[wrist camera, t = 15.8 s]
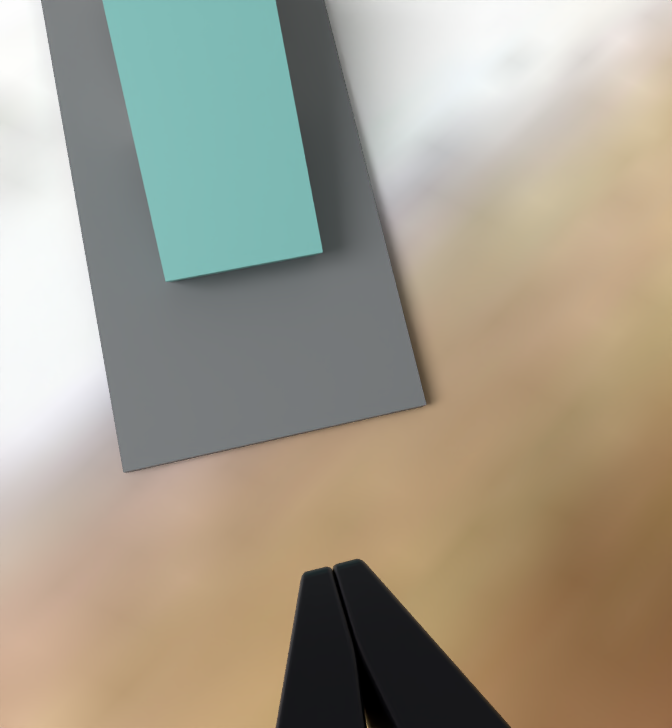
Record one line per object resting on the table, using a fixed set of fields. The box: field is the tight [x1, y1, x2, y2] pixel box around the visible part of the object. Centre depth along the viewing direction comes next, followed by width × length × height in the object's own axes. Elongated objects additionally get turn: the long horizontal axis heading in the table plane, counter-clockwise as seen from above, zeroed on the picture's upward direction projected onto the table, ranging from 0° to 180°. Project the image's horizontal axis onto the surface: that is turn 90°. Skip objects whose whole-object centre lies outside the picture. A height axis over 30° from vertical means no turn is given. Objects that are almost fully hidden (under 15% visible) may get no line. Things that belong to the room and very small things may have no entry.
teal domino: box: [102, 0, 323, 282], centre depth 20 cm, size 2×5×10 cm
